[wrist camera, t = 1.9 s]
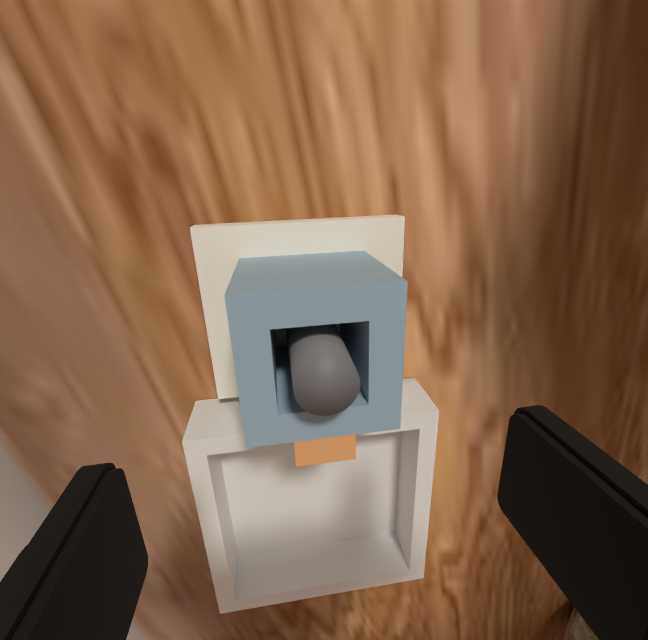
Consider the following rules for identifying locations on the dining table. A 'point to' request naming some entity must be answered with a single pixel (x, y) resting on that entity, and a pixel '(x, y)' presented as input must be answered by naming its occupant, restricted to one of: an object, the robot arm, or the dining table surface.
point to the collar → (311, 310)
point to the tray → (310, 507)
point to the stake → (303, 342)
